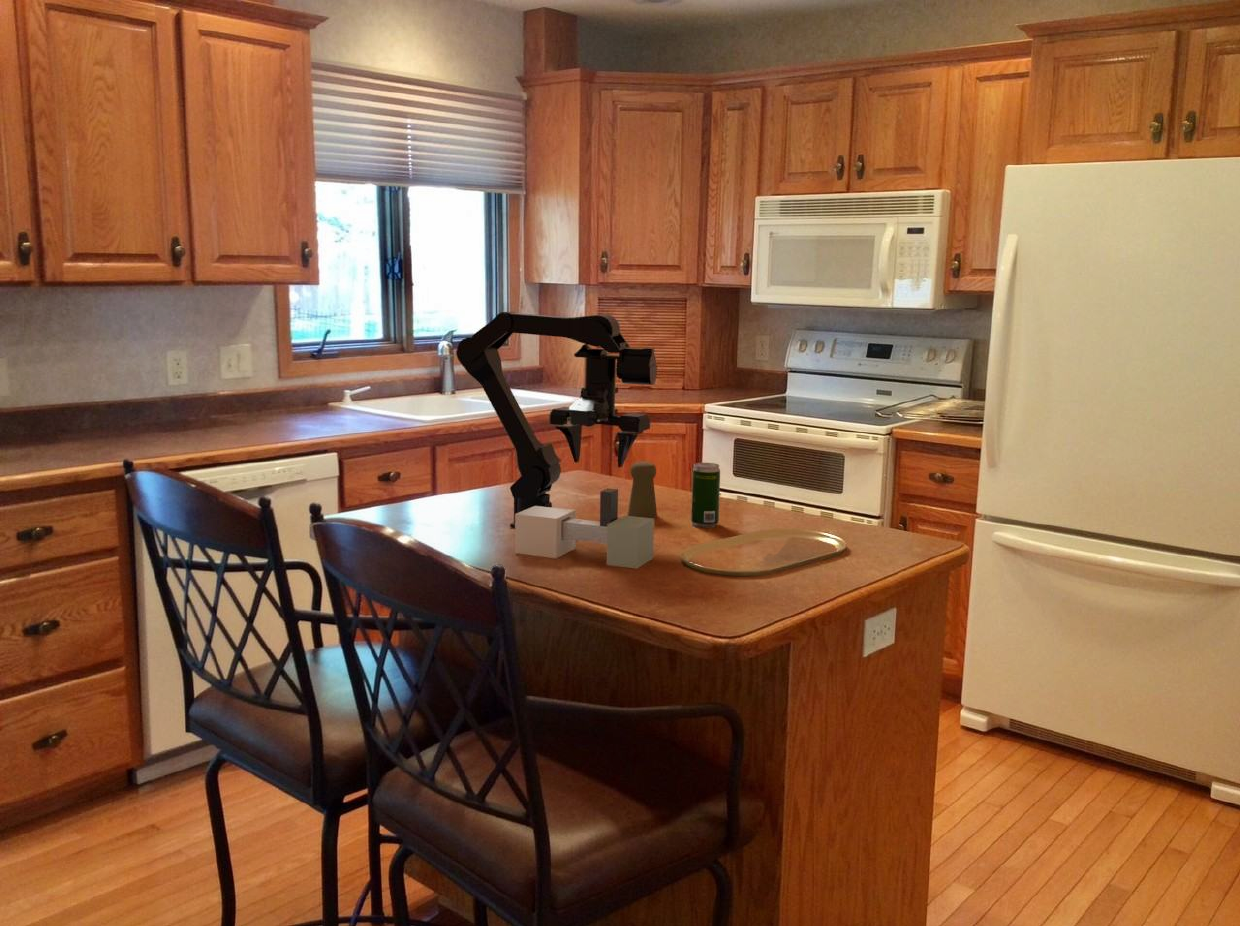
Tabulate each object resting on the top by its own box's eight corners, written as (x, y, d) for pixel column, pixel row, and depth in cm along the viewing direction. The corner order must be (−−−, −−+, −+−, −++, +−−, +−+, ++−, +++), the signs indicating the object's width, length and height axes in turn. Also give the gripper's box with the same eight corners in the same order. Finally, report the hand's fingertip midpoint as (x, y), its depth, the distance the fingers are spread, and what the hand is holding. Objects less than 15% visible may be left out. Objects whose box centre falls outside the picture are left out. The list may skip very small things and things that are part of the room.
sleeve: (515, 553, 189) (515, 514, 188) (535, 543, 196) (535, 505, 195) (556, 558, 186) (556, 518, 185) (575, 548, 193) (575, 510, 192)
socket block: (606, 564, 183) (607, 524, 181) (624, 554, 190) (624, 515, 188) (636, 568, 181) (637, 527, 179) (653, 558, 187) (654, 518, 186)
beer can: (723, 526, 212) (725, 466, 210) (699, 528, 210) (701, 468, 207) (709, 520, 217) (711, 461, 215) (686, 523, 214) (687, 463, 212)
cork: (654, 519, 217) (655, 465, 215) (625, 518, 218) (626, 464, 216) (659, 513, 223) (660, 460, 221) (630, 511, 224) (631, 459, 222)
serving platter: (657, 562, 186) (657, 554, 186) (784, 532, 210) (785, 524, 210) (741, 586, 173) (741, 577, 172) (866, 550, 196) (867, 542, 196)
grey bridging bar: (553, 537, 188) (553, 486, 187) (560, 533, 191) (560, 483, 190) (632, 546, 183) (633, 494, 181) (639, 543, 186) (640, 491, 184)
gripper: (535, 382, 198) (533, 466, 201) (626, 389, 190) (624, 476, 193) (564, 377, 208) (562, 457, 211) (652, 384, 200) (649, 467, 203)
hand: (598, 464), depth 204 cm, fingers open, 9 cm apart
